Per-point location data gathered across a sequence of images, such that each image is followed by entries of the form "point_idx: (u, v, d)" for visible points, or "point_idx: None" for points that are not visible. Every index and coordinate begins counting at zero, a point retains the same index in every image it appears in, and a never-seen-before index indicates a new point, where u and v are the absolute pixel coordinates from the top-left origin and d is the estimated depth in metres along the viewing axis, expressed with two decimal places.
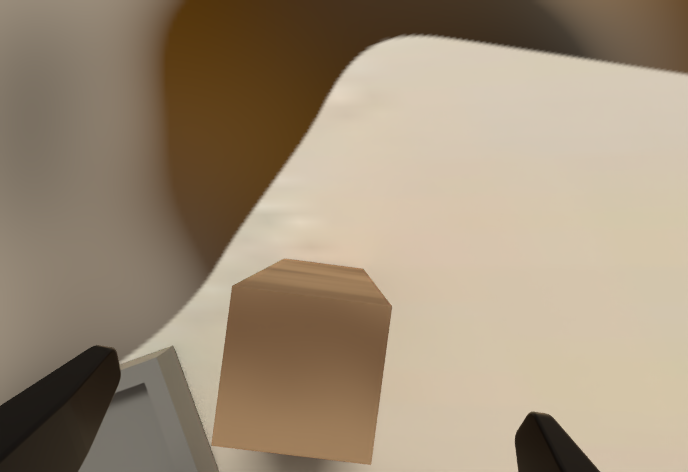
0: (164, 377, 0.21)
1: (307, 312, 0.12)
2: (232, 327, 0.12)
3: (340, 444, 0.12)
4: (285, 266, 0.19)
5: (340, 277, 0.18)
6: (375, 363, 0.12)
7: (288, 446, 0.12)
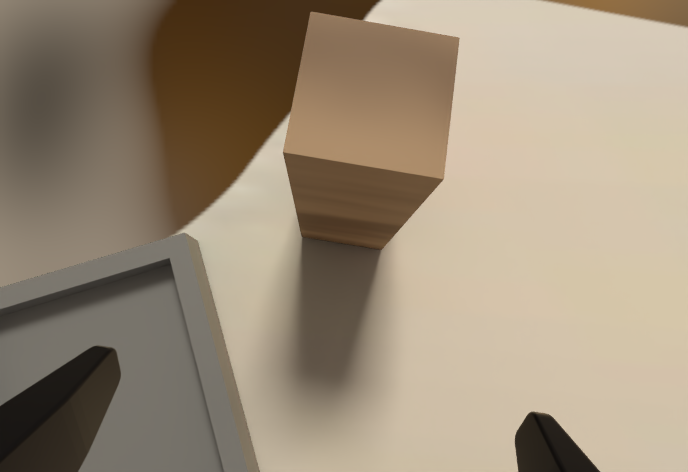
0: (191, 254, 0.21)
1: (380, 37, 0.12)
2: (309, 46, 0.12)
3: (412, 157, 0.12)
4: None
5: None
6: (445, 86, 0.12)
7: (361, 156, 0.12)
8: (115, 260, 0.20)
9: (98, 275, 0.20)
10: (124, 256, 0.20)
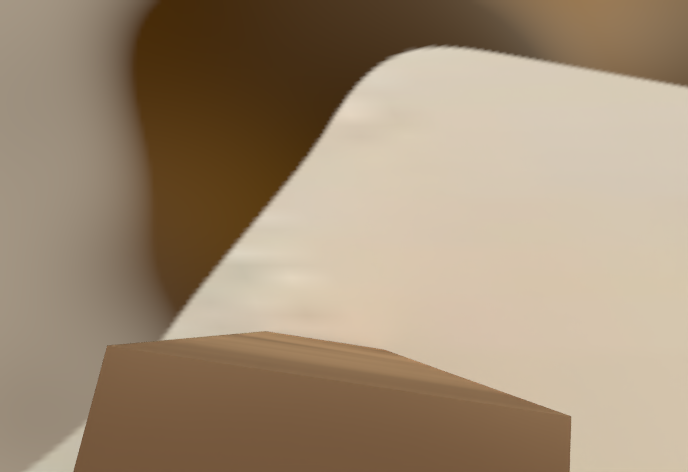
0: None
1: (326, 432, 0.04)
2: None
3: None
4: (266, 336, 0.11)
5: (365, 354, 0.10)
6: None
7: None
8: None
9: None
10: None
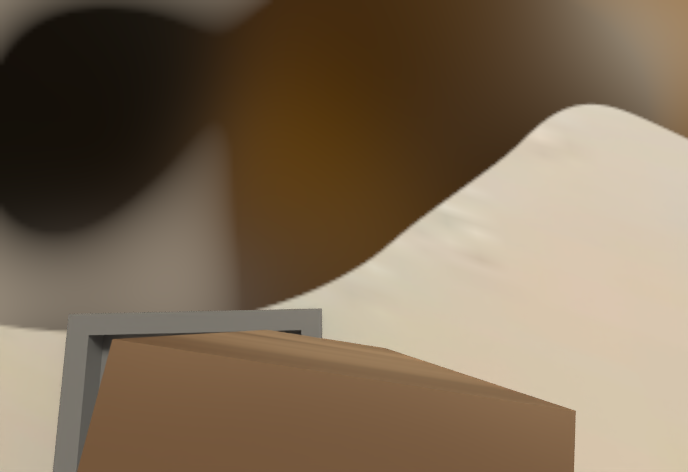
0: None
1: (331, 426, 0.04)
2: None
3: None
4: (268, 334, 0.11)
5: (367, 352, 0.10)
6: None
7: None
8: (250, 317, 0.20)
9: (230, 327, 0.20)
10: (259, 315, 0.20)
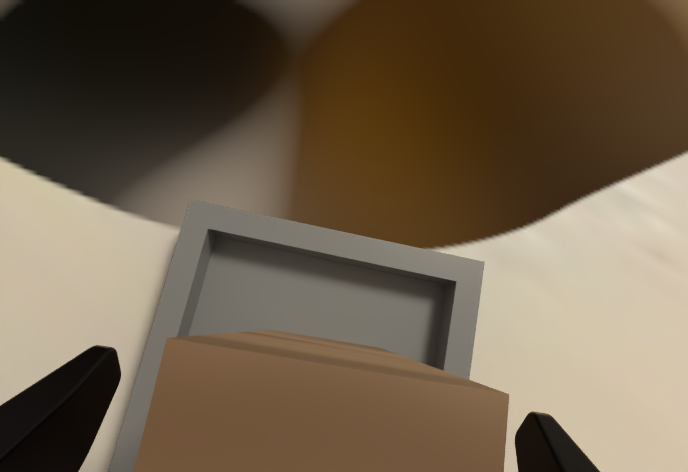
0: (480, 290, 0.17)
1: (327, 403, 0.05)
2: (157, 435, 0.05)
3: None
4: (274, 334, 0.13)
5: (361, 350, 0.11)
6: None
7: None
8: (398, 252, 0.17)
9: (373, 258, 0.17)
10: (409, 253, 0.17)
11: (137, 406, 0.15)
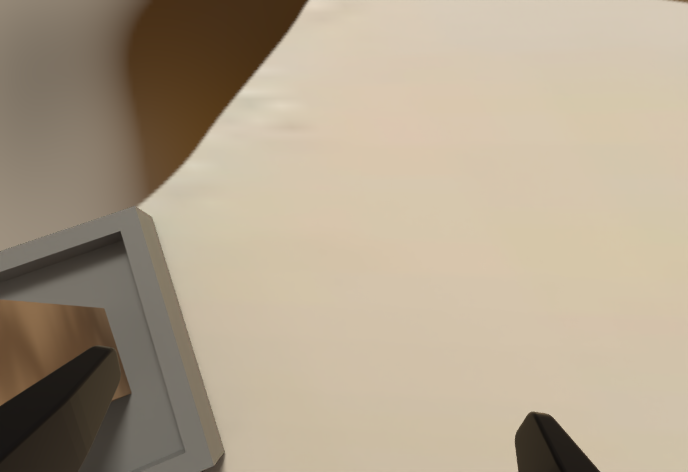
0: (141, 226, 0.21)
1: None
2: None
3: None
4: None
5: None
6: None
7: None
8: (66, 235, 0.21)
9: (50, 251, 0.20)
10: (75, 231, 0.21)
11: None
